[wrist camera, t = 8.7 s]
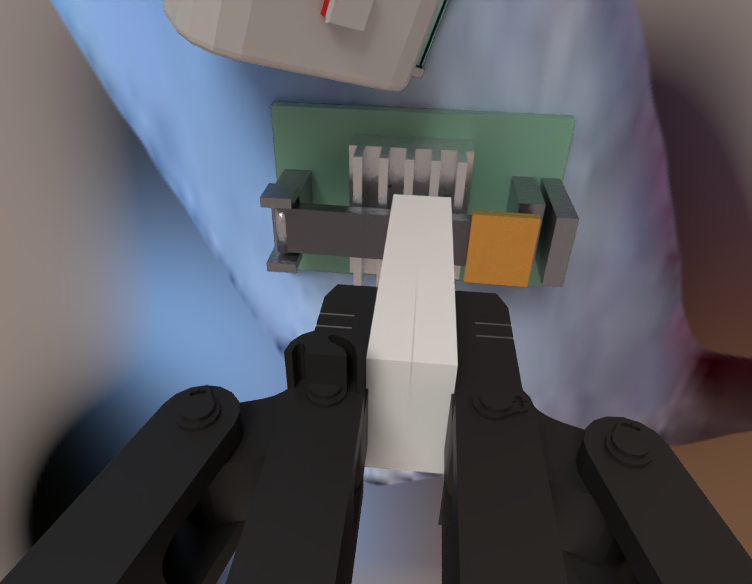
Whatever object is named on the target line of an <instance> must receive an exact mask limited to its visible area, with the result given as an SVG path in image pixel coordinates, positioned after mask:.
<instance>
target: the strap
mask: <svg viewBox="0 0 752 584" xmlns="http://www.w3.org/2000/svg"><path fill="white" fill-rule="evenodd" d="M273 211H274V222H275V234H276V245H277V251H278V252H279V253H283V254H286V253H290V252H291V253H304V254H317V255H329V256H342V257H355V258H367V259H380V260H383V255H384V249H385V243H386V237H387V231H388V225H389V219H390V213H391V209H382V208H368V207H354V206H340V205H326V204H312V203H297V202H295V203H294V205H293V207H292V209H284V208H273ZM540 222H541V217H540V214H526V213H512V212H498V211H483V210H472V215H466V214H452V232H453V257H454V265H456V266H465V272H464V282H470V283H482V284H495V285H507V286H519V287H527V285H528V280H529V275H530V270H531V266H532V261H533V256H534V251H535V246H536V241H537V236H538V231H539V226H540Z"/></svg>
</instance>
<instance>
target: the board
mask: <svg viewBox="0 0 752 584" xmlns="http://www.w3.org/2000/svg"><path fill="white" fill-rule="evenodd" d="M271 115H272V127H273V139H274V151H275V163H276V175H277V180H278V179H279V177H280V176H281V174H282V172H283V171H284V169H298V170H311V173H312V194H313V204H326V205H340V206H349V144H350V142H351V139H352V137H353V134H354V133H356V134H376V135H395V136H415V137H435V138H454V139H473V145H474V160H473V168H472V176H471V185H470V193H469V201H468V209H467V215H472V210H483V211H498V212H506V209H507V203H508V197H509V190H510V184H511V178H512V176H523V177H536V180H537V183H538V185H539V187H540V182H541V178H559V179H561V181H562V180H563V175H564V171H565V166H566V162H567V157H568V152H569V148H570V143H571V139H572V134H573V130H574V125H575V119H574V117H573V116H566V115H545V114H524V113H503V112H482V111H461V110H440V109H419V108H398V107H377V106H356V105H335V104H314V103H293V102H273V104H272V105H271ZM297 270H308V271H323V272H337V273H352V274H353V272H350V257H342V256H329V255H317V254H304V253H303V257H302V260H301V262H300V264H299V267H298V269H297ZM464 272H465V266H461V267H460V275H459V280H456V279H454V280H455V281H464ZM364 274H367V273H364ZM367 275H376V274H367ZM540 281H541V280H540V276H539V272H538V269H537V265H536V262H535V259H534V264H533V269H532V271H530V275H529V280H528V286H539V285H540Z"/></svg>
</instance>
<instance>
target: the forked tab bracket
mask: <svg viewBox="0 0 752 584" xmlns="http://www.w3.org/2000/svg"><path fill="white" fill-rule="evenodd" d="M295 202H297V203H312V204H313V194H312V173H311V170H298V169H284V171H283V172H282V174H281V176H280V177H279V179H278V180H277V182H276V184H275V183H269V184H268V186H267V187H266V189H265V190H264V192H263V193H262V195H261V197H260V204H261V207H267V208H271V209H272V220H273V231H274V241H275V247H274V249H273V251H272V253H271V255H270V257H269V259H268V261H267V271H273V272H287V273H296V272H297V269H298V267H299V264H300V262H301V260H302V257H303V253H291V252H290V253H286V254H283V253H279V252H278V251H277V245H276V234H275V222H274V211H273V208H284V209H292V207H293V205H294V203H295Z"/></svg>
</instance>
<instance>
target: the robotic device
mask: <svg viewBox="0 0 752 584" xmlns="http://www.w3.org/2000/svg"><path fill="white" fill-rule="evenodd" d="M448 1H449V0H164V13H165V14H166V16H167V17H168V19H169V20H170V22H171V23H172V25H173V26H174V28H175V29H176V30H177V32H178V33H179V34H180V35H181V36H183V37H184V38H185V39H186V40H187V41H189V42H190V43H191V44H193V45H195V46H198V47H200V48H202V49H204V50H206V51H208V52H211V53H213V54H216V55H220V56H223V57H227V58H230V59H234V60H237V61H241V62H246V63H251V64H256V65H261V66H266V67H271V68H276V69H281V70H286V71H291V72H296V73H301V74H306V75H311V76H316V77H321V78H326V79H331V80H336V81H340V82H345V83H350V84H355V85H360V86H365V87H370V88H375V89H380V90H385V91H401V90H403V89H404V88H405V87H406V86H407V85H408V84H409V82H410V79H411V77H412V76H415V77H422V75H423V72H424V70H425V69H422V67H423V65H424V62H425V59H426V57H427V54H428V52H429V49H430V47H431V44H432V42H433V39H434V37H435V34H436V32H437V29H438V26H439V24H440V21H441V19H442V16H443V14H444V11H445V9H446V6H447V4H448Z"/></svg>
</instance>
